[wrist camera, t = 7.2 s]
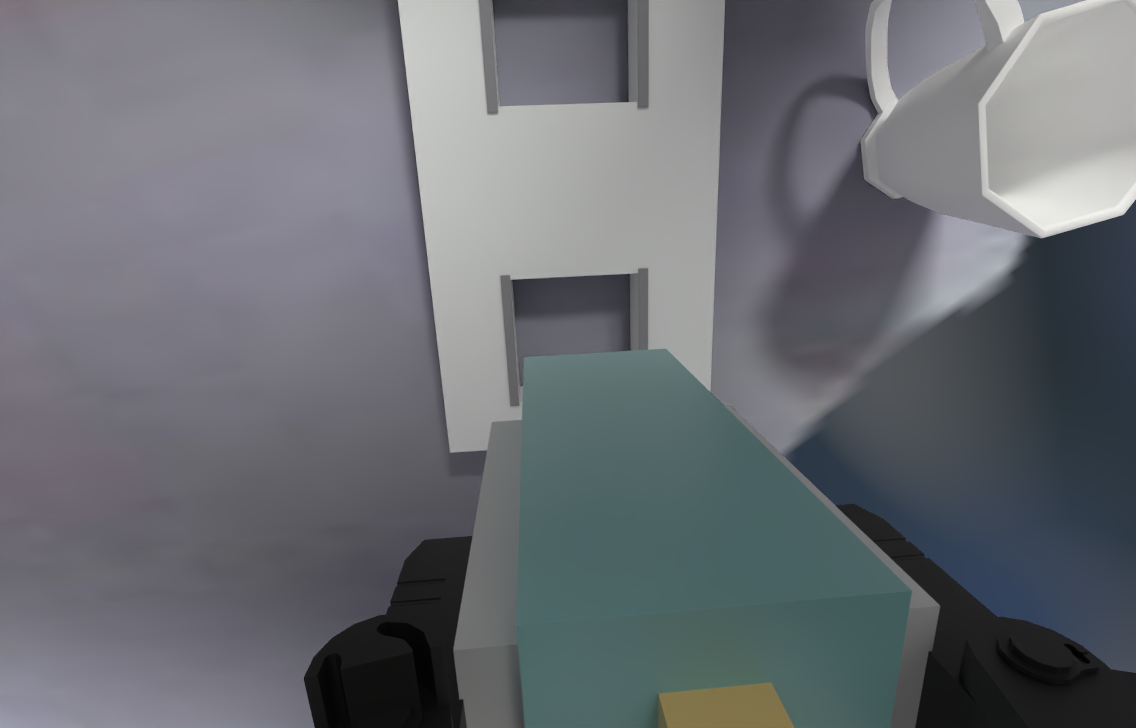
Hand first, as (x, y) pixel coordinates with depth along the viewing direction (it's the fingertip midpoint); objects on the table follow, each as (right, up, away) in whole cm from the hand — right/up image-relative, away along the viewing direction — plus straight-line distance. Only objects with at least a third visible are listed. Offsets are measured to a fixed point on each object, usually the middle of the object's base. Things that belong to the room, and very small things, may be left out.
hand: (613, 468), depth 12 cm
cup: (+13, +13, +11) cm, 22 cm away
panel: (-1, +10, +11) cm, 15 cm away
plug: (0, +1, +3) cm, 3 cm away
